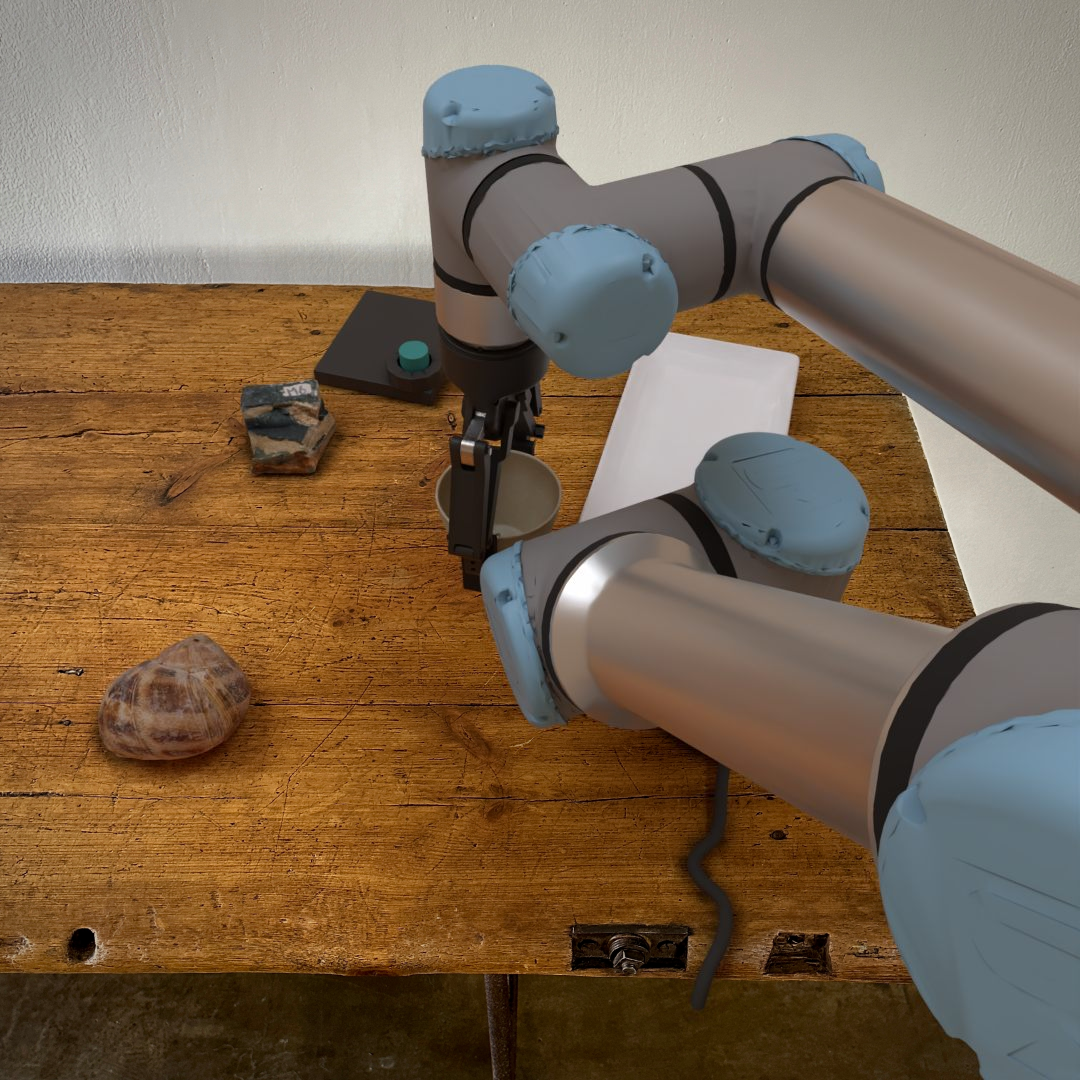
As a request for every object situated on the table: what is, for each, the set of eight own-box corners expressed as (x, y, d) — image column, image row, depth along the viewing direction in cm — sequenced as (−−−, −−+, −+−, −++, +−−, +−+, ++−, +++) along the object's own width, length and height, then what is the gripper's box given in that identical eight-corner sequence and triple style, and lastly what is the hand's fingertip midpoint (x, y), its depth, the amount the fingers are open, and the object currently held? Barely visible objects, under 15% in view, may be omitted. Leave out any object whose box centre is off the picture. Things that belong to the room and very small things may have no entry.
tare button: (423, 374, 99) (422, 361, 98) (396, 369, 100) (394, 355, 99) (433, 356, 101) (432, 343, 100) (406, 351, 102) (404, 338, 100)
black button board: (434, 409, 101) (432, 383, 98) (313, 385, 103) (308, 359, 100) (479, 322, 110) (478, 296, 108) (368, 301, 112) (364, 276, 110)
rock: (251, 482, 93) (238, 439, 89) (250, 417, 99) (238, 374, 95) (341, 471, 94) (333, 428, 90) (336, 408, 100) (328, 364, 96)
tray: (569, 558, 88) (571, 533, 85) (642, 349, 108) (645, 324, 105) (756, 602, 85) (764, 577, 82) (795, 379, 105) (802, 353, 102)
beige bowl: (546, 606, 78) (548, 547, 73) (427, 585, 79) (419, 527, 74) (569, 517, 85) (572, 457, 79) (458, 499, 86) (453, 439, 80)
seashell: (186, 631, 81) (201, 601, 72) (258, 713, 81) (282, 692, 73) (74, 716, 75) (77, 694, 67) (153, 802, 76) (165, 792, 67)
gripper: (499, 441, 57) (504, 658, 73) (588, 238, 71) (575, 458, 88) (378, 417, 58) (410, 637, 74) (490, 223, 72) (496, 443, 89)
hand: (500, 540), depth 81 cm, fingers closed on beige bowl, 10 cm apart
